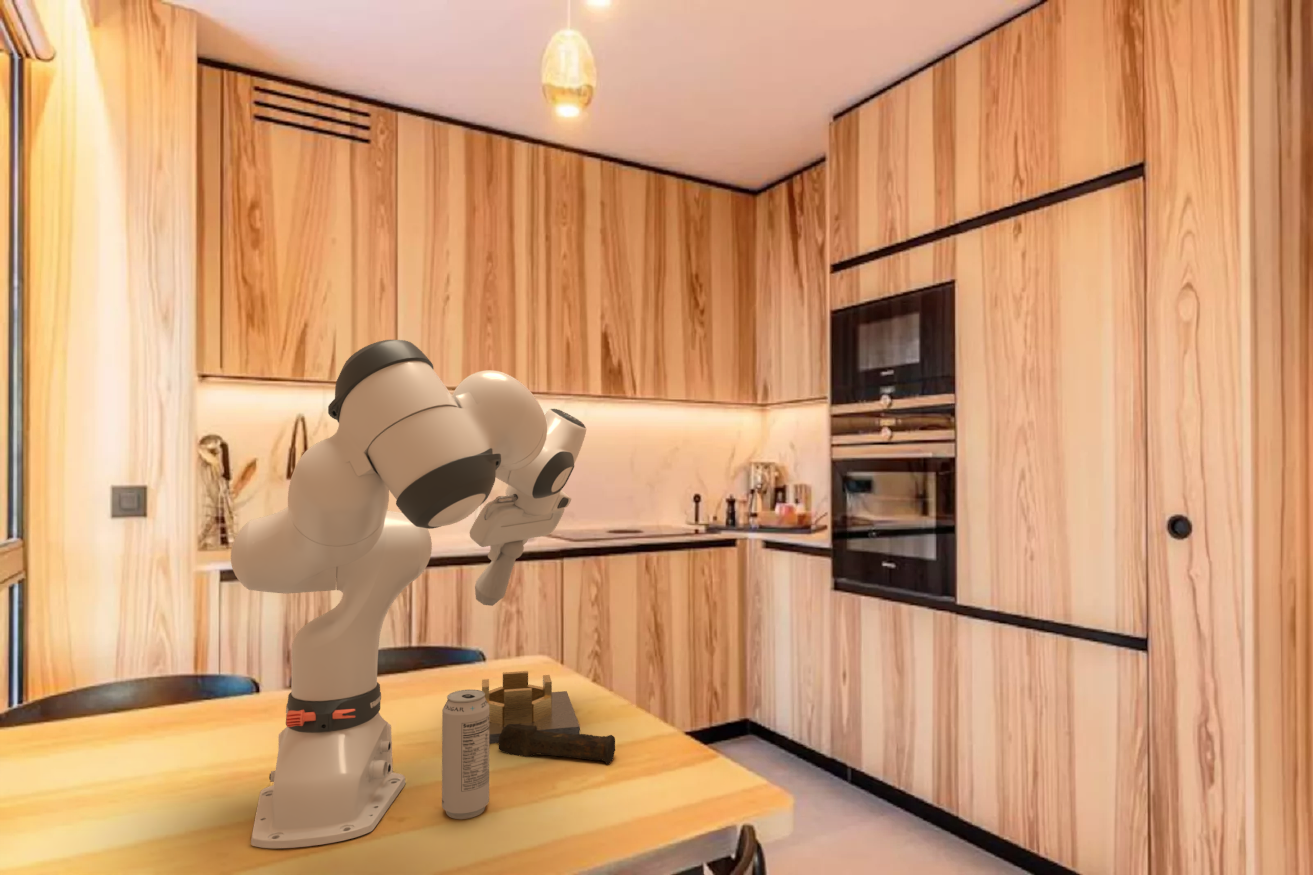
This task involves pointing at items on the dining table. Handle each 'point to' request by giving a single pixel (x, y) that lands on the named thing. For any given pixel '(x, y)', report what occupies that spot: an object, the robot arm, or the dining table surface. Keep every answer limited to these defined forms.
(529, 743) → the dark brown textured rod
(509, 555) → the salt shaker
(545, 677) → the castellated collar
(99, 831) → the dining table surface
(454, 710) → the energy drink can
